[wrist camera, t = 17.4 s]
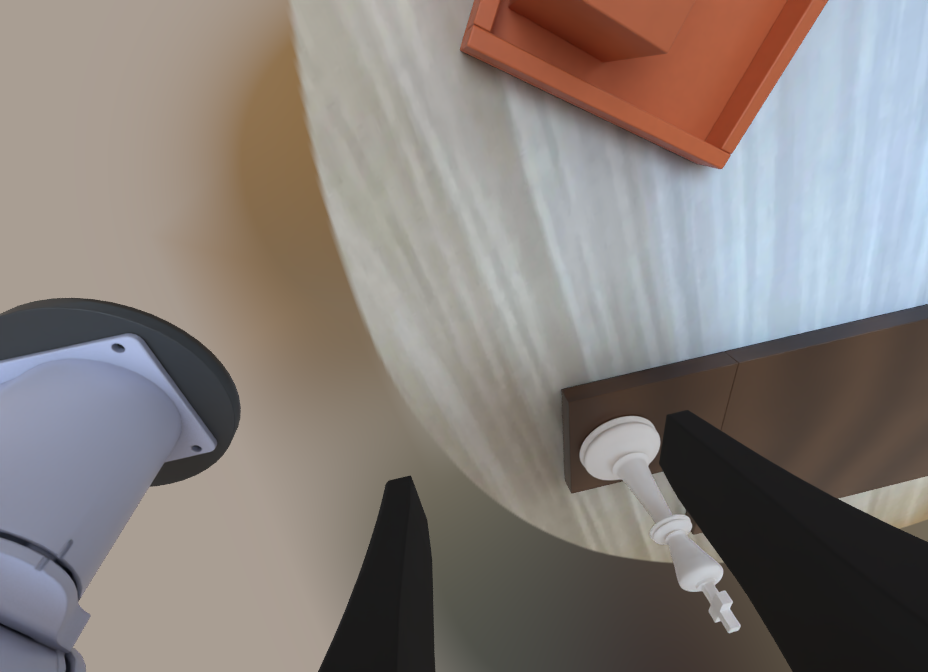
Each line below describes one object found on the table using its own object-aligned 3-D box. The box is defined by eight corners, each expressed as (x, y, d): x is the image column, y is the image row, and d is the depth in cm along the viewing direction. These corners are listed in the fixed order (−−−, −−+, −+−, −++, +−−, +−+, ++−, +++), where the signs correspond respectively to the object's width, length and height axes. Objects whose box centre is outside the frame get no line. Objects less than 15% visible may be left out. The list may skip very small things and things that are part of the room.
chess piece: (579, 479, 26) (669, 667, 17) (579, 425, 23) (685, 617, 15) (651, 462, 26) (775, 639, 18) (659, 407, 23) (810, 585, 15)
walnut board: (567, 550, 32) (573, 565, 31) (560, 389, 23) (568, 402, 22) (929, 460, 34) (946, 471, 33) (1063, 272, 24) (1092, 280, 23)
